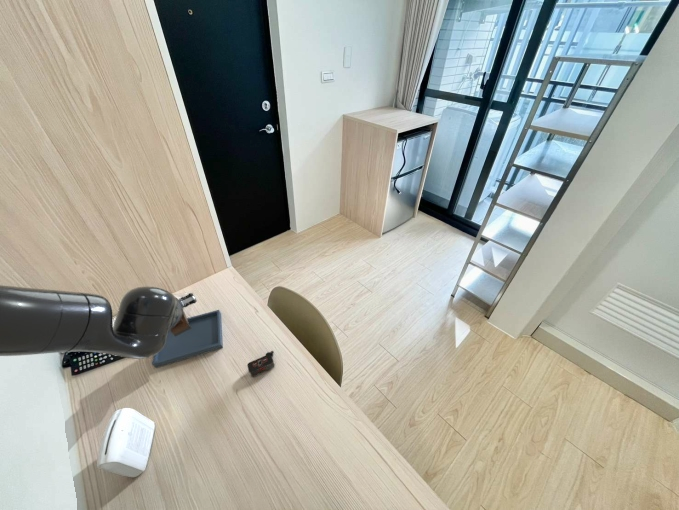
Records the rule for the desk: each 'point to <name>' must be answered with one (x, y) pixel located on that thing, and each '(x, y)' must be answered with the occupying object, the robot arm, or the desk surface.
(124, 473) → the photo printer
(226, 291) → the desk surface
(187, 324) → the brown wooden block
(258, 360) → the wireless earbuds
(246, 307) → the desk surface
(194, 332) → the tray
